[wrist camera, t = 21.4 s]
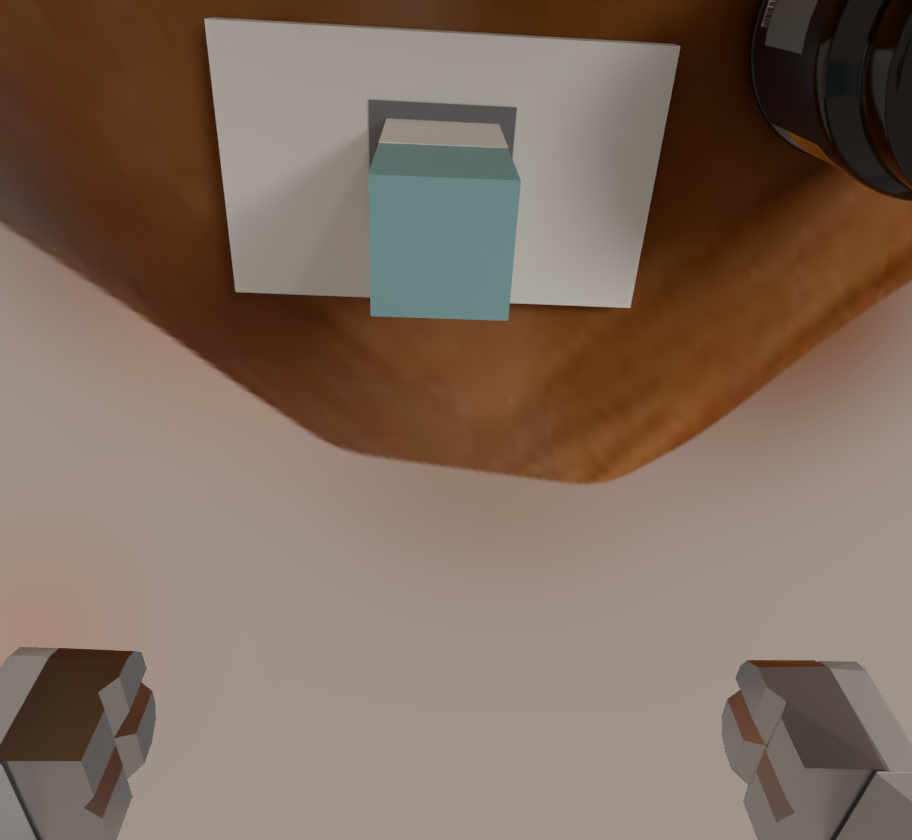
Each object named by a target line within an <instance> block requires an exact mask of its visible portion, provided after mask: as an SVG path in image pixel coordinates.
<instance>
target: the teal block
mask: <svg viewBox="0 0 912 840" xmlns="http://www.w3.org/2000/svg"><path fill="white" fill-rule="evenodd" d="M520 186H521V180H520V177H519V174H518V172H517V169H516V167H515V164H514V162H513V159H512V157H511V154H510V152H509V149H508V148H488V147H465V146H442V145H419V144H396V143H378V146H377V149H376V152H375V155H374V158H373V161H372V164H371V167H370V170H369V173H368V194H369V251H370V308H371V316H380V317H410V318H441V319H471V320H501V321H508V317H509V306H510V295H511V284H512V273H513V262H514V251H515V240H516V230H517V219H518V208H519V197H520Z"/></svg>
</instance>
